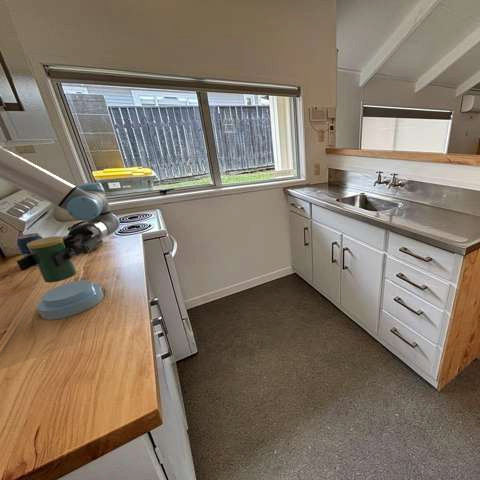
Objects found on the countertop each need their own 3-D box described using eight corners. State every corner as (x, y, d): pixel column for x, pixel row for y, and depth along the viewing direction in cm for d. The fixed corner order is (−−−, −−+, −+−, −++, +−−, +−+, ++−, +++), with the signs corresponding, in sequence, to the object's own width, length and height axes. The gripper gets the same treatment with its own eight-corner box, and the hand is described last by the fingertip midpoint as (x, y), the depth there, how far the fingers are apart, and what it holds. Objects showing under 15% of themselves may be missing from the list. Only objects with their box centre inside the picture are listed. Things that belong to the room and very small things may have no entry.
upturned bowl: (34, 326, 67) (26, 311, 65) (47, 301, 78) (40, 287, 76) (102, 306, 74) (96, 292, 73) (105, 286, 85) (100, 273, 83)
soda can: (42, 259, 107) (29, 232, 103) (57, 259, 107) (45, 232, 102) (23, 267, 101) (9, 239, 96) (40, 267, 100) (26, 238, 96)
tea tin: (41, 285, 68) (22, 247, 64) (47, 275, 74) (30, 239, 70) (75, 277, 72) (59, 241, 68) (78, 268, 77) (64, 234, 73)
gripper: (124, 241, 90) (88, 271, 69) (57, 248, 86) (-3, 282, 65) (118, 220, 87) (77, 245, 67) (48, 227, 83) (-18, 255, 62)
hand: (38, 263), depth 66 cm, fingers closed on tea tin, 7 cm apart
